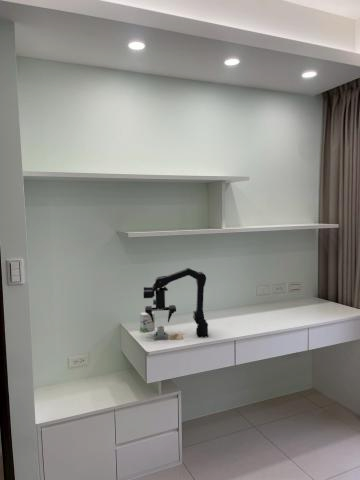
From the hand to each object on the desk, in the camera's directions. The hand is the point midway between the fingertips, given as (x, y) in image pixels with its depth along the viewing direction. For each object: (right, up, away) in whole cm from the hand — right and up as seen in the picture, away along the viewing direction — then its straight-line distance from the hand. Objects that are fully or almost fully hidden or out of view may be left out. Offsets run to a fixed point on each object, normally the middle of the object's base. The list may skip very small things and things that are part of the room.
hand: (160, 322), depth 227 cm
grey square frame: (0, -9, +1) cm, 9 cm away
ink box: (-9, -8, +14) cm, 19 cm away
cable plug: (0, -9, +1) cm, 9 cm away
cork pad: (+9, -9, +2) cm, 13 cm away
